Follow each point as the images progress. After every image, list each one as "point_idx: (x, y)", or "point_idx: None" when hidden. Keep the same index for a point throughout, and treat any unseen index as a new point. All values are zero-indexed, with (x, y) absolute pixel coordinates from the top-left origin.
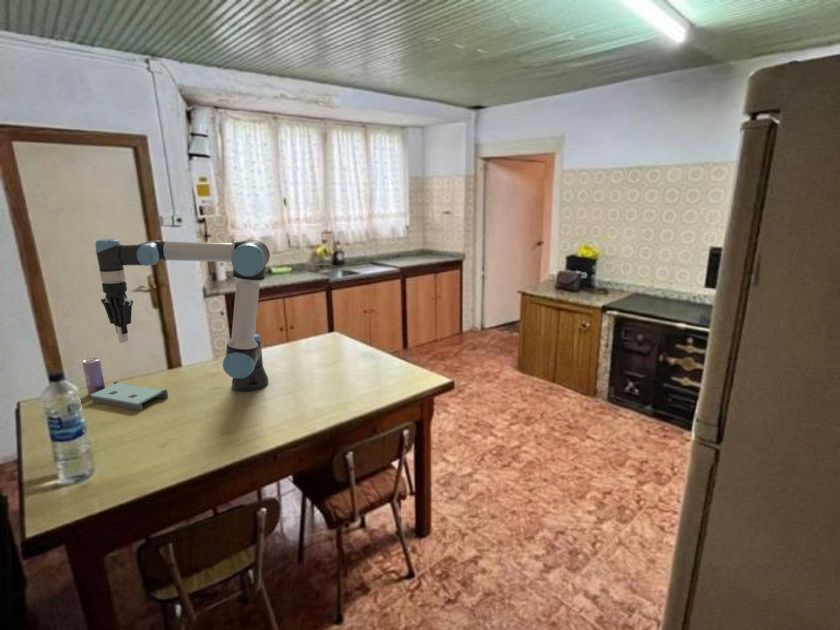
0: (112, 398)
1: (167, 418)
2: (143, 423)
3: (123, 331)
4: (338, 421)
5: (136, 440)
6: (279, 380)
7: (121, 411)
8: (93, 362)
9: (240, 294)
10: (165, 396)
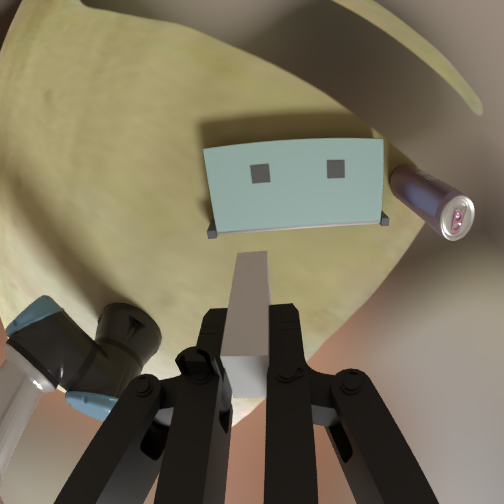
0: (302, 140)
1: (118, 157)
2: (141, 114)
3: (211, 327)
4: None
5: (94, 71)
6: None
7: (251, 125)
8: (443, 209)
9: None
10: (210, 224)
